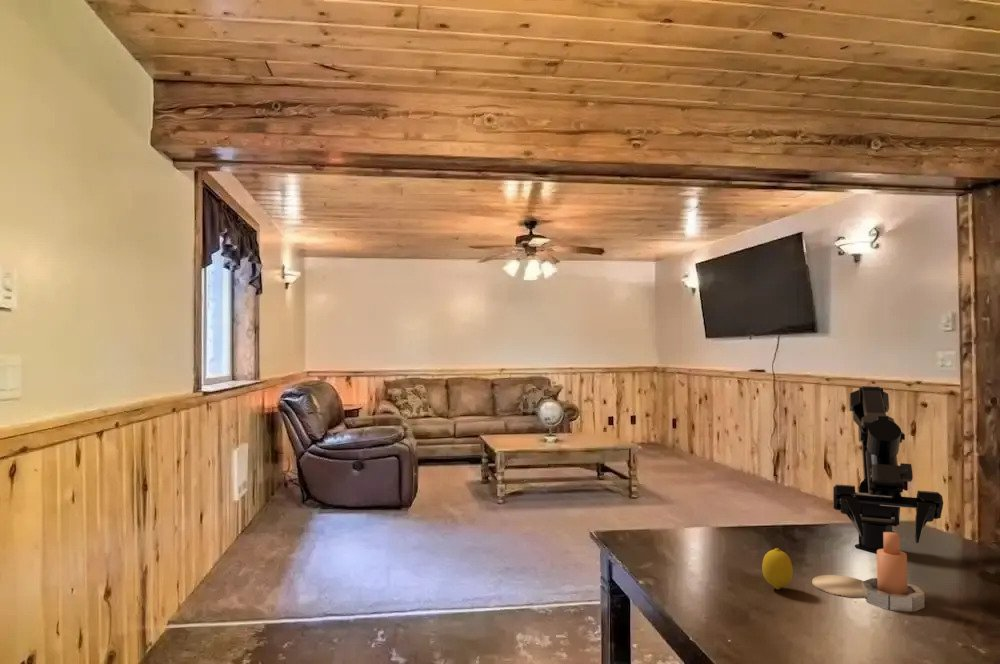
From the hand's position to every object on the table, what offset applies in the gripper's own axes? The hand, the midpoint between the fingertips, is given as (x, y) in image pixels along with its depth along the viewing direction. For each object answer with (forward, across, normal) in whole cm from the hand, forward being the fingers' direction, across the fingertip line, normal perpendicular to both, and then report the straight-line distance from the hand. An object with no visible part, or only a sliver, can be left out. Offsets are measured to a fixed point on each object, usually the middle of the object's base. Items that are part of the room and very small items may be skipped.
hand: (889, 539), depth 126 cm
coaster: (+7, -8, +8) cm, 13 cm away
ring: (+10, 0, +5) cm, 11 cm away
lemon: (+12, -20, +3) cm, 23 cm away
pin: (+10, 0, +5) cm, 11 cm away
